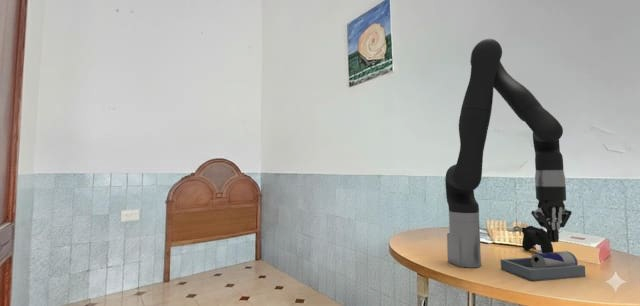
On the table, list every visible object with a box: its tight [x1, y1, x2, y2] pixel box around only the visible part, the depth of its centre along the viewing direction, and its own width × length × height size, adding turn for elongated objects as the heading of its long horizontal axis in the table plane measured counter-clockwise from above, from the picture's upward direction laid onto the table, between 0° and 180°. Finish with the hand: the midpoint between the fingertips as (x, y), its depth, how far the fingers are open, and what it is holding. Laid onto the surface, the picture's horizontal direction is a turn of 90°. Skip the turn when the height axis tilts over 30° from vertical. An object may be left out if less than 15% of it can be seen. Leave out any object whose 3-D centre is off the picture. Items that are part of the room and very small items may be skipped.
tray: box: [500, 256, 587, 282], centre depth 93 cm, size 18×11×3 cm, turn 102°
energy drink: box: [531, 250, 579, 269], centre depth 93 cm, size 5×5×12 cm
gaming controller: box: [521, 225, 554, 253], centre depth 114 cm, size 14×6×10 cm, turn 179°
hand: (553, 241), depth 94 cm, fingers closed
